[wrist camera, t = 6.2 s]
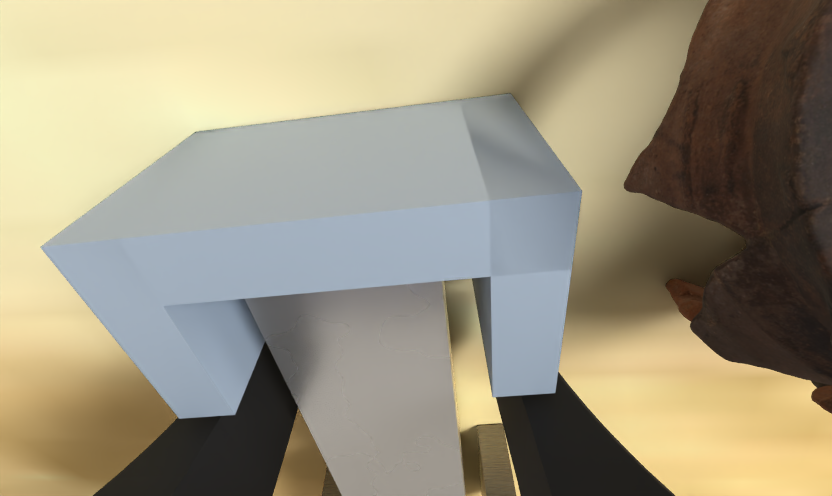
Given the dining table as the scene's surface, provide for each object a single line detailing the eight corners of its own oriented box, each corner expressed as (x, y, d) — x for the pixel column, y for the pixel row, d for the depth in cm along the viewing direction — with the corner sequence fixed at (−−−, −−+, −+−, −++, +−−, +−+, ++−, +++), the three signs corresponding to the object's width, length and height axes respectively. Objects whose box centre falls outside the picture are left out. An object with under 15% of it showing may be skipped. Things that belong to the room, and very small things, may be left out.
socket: (508, 246, 11) (555, 392, 7) (257, 270, 11) (179, 418, 8) (510, 93, 8) (582, 191, 5) (195, 131, 9) (40, 246, 5)
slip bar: (461, 451, 16) (471, 551, 13) (379, 456, 16) (371, 556, 14) (433, 178, 9) (440, 269, 6) (291, 193, 10) (239, 287, 7)
